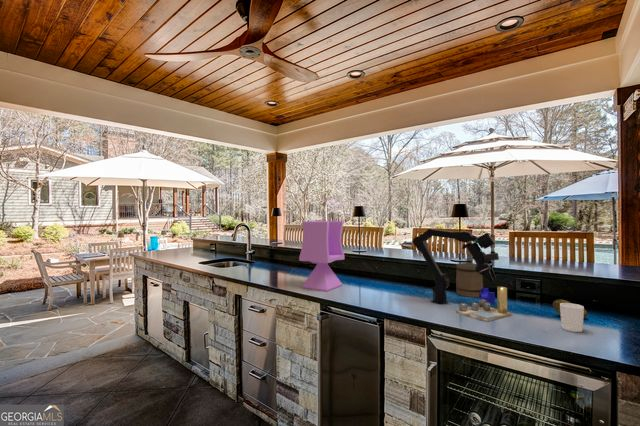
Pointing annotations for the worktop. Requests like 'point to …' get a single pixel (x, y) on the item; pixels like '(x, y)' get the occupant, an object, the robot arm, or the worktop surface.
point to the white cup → (572, 317)
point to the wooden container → (468, 279)
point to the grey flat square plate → (485, 315)
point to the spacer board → (492, 310)
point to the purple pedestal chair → (322, 253)
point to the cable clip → (487, 295)
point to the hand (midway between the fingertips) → (493, 280)
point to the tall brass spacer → (502, 299)
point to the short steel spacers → (476, 305)
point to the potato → (557, 302)
